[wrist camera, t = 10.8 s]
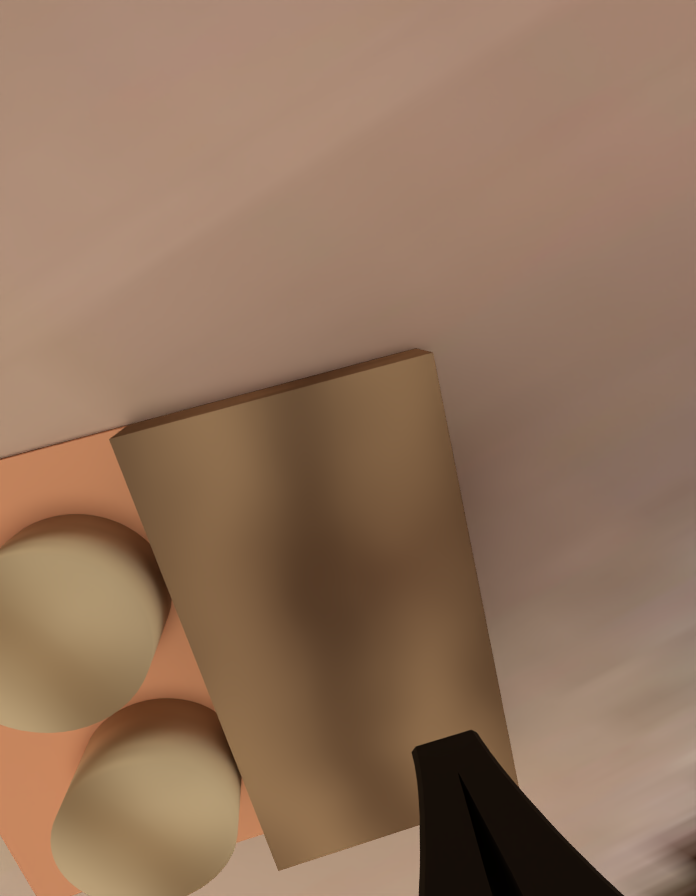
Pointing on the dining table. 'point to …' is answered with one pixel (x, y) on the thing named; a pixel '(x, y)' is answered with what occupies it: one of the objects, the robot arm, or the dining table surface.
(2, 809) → the mat
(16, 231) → the dining table surface
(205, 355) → the dining table surface
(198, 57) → the dining table surface
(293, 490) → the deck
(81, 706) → the coaster
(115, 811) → the coaster
